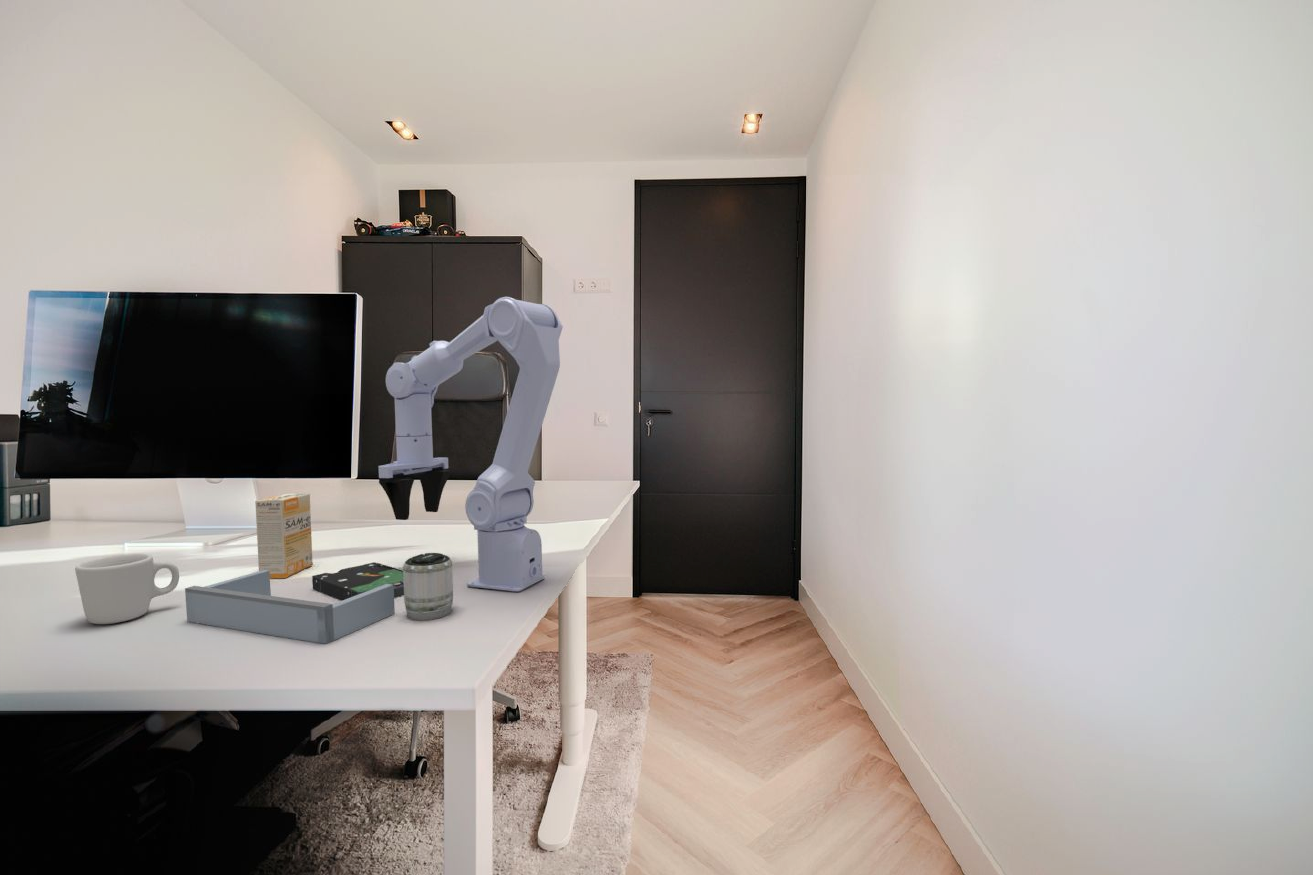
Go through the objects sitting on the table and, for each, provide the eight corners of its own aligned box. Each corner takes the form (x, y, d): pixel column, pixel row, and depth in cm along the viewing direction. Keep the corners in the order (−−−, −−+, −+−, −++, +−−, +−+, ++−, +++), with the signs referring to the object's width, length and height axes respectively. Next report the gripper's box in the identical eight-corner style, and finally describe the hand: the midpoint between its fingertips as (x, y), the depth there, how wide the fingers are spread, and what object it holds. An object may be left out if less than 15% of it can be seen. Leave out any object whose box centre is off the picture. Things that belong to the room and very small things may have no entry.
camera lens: (394, 618, 84) (392, 560, 84) (426, 603, 90) (424, 549, 90) (433, 623, 82) (430, 563, 82) (463, 608, 88) (461, 552, 88)
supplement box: (287, 578, 104) (282, 499, 103) (257, 579, 104) (253, 500, 103) (314, 565, 112) (311, 492, 111) (287, 565, 112) (284, 492, 111)
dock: (394, 613, 86) (393, 581, 86) (325, 643, 76) (324, 607, 75) (265, 596, 95) (263, 566, 94) (187, 621, 84) (185, 588, 84)
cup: (176, 600, 93) (173, 546, 93) (185, 612, 88) (182, 556, 87) (77, 618, 86) (73, 560, 85) (81, 634, 80) (76, 571, 80)
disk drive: (311, 593, 98) (359, 611, 89) (309, 575, 98) (358, 591, 89) (375, 577, 106) (425, 592, 97) (374, 561, 106) (424, 574, 97)
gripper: (424, 432, 115) (427, 507, 116) (362, 438, 101) (365, 522, 102) (456, 433, 112) (459, 508, 113) (397, 438, 99) (400, 524, 100)
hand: (417, 515), depth 108 cm, fingers open, 7 cm apart
